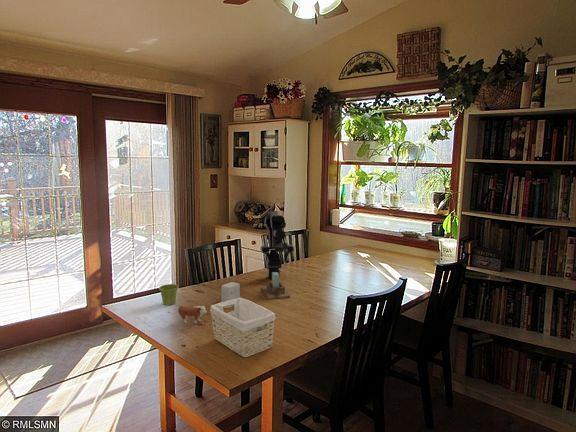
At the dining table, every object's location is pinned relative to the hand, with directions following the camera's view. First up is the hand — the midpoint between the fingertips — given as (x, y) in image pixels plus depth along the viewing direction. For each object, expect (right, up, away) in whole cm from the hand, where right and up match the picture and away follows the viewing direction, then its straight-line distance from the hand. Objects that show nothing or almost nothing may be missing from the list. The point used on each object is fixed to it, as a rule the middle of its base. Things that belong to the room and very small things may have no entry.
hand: (277, 262), depth 235 cm
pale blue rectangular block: (-1, -14, -13) cm, 19 cm away
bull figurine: (-36, -21, -54) cm, 68 cm away
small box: (-23, -18, -31) cm, 43 cm away
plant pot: (-54, -17, -31) cm, 64 cm away
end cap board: (0, -15, -13) cm, 20 cm away
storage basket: (-12, -24, -74) cm, 79 cm away
